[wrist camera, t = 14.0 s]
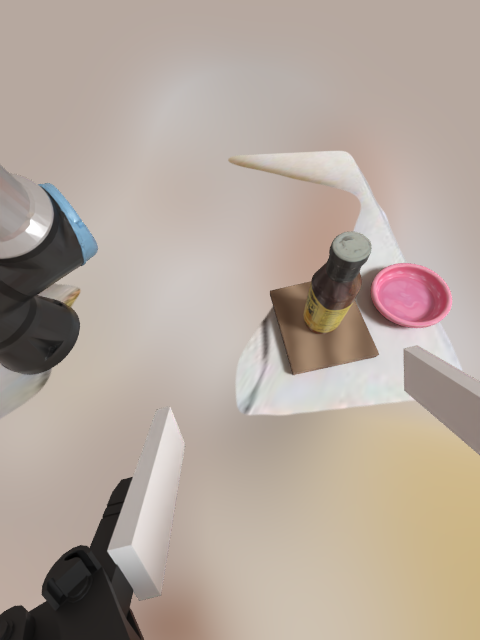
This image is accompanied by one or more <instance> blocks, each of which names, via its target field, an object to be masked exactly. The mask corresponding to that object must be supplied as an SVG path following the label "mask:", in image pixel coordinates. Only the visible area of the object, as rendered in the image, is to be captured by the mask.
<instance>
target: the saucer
mask: <svg viewBox="0 0 480 640" xmlns="http://www.w3.org/2000/svg"><path fill="white" fill-rule="evenodd" d="M371 298H372V301H373V303H374V305H375V307H376V308H377V310H378V311H379V312H380V313H381V314H382V315H383V316H384V317H385V318H387V319H388V320H390V321H392V322H394V323H396V324H398V325H401V326H405V327H411V328H423V327H428V326H431V325H434V324H436V323H438V322H439V321H441V320H442V319H443V318H445V317H446V315H447V314H448V313H449V311H450V309H451V305H452V296H451V292H450V289H449V287H448V285H447V284H446V283H445V281H444V280H443V279H442V278H441V277H440V276H438V274H436V273H435V272H433V271H432V270H430V269H428V268H426V267H423V266H420V265H416V264H410V263H399V264H394V265H390V266H388V267H386V268H384V269H382V270H381V271H380V272H379V273H378V274H377V275H376V276H375V278H374V280H373V282H372V285H371Z"/></svg>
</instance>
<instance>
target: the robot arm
mask: <svg viewBox="0 0 480 640" xmlns="http://www.w3.org/2000/svg"><path fill="white" fill-rule="evenodd" d="M97 250H98V246H97V243H96V241H95V239H94V237H93V236H92V234H91V233H90V231H89V230H88V228H87V227H86V225H85V224H84V223H83V222H82V220H81V219H80V217H79V216H78V215H77V213H76V211H75V210H74V209H73V208H72V206H71V205H70V204H69V202H68V201H67V200H66V199H65V197H64V196H63V195H62V194H61V193H60V192H59V190H58V189H57V188H55V186H54V185H52V184H50V183H45V184H36V183H35V182H33V181H32V180H30V179H28V178H26V177H24V176H21V175H17V174H11V173H9V172H7V171H6V170H5V169H4V168H3V167H2V166H1V165H0V363H1V364H2V365H3V366H4V367H5V368H7V369H9V370H12V371H15V372H18V373H22V374H38V373H41V372H44V371H47V370H49V369H51V368H52V367H54V366H55V365H57V364H58V363H60V362H61V361H62V360H63V359H64V358H65V357H66V356H67V355H68V353H69V352H70V351H71V350H72V348H73V346H74V345H75V343H76V340H77V338H78V335H79V329H80V322H79V318H78V315H77V314H76V312H75V311H74V310H73V309H72V308H71V307H69V306H67V305H66V304H64V303H63V302H61V301H58V300H54V299H50V298H46V297H42V296H38V295H37V294H39V293H40V292H42V291H43V290H45V289H46V288H48V287H49V286H51V285H52V284H54V283H55V282H57V281H58V280H60V279H61V278H63V277H64V276H66V275H67V274H69V273H70V272H72V271H73V270H75V269H76V268H78V267H79V266H82V265H84V264H85V263H86V261H88V260H89V259H90V258H91V257H93V256H94V255H95V254H96V253H97ZM404 391H406V392H407V393H408V394H409V395H410V396H411V397H413V398H414V399H415V400H416V401H417V402H418V403H420V404H421V405H422V406H423V407H424V408H425V409H427V410H428V411H429V412H430V413H431V414H432V415H433V416H435V417H436V418H437V419H438V420H439V421H440V422H442V423H443V424H444V425H445V426H446V427H448V428H449V429H450V430H451V431H452V432H453V433H455V434H456V435H457V436H458V437H459V438H461V439H462V440H463V441H464V442H465V443H466V444H467V445H468V446H470V447H471V448H472V449H473V450H474V451H476V452H477V453H478V454H479V455H480V381H478V380H476V379H475V378H473V377H471V376H469V375H468V374H466V373H464V372H463V371H461V370H459V369H457V368H456V367H454V366H452V365H450V364H449V363H447V362H445V361H443V360H442V359H440V358H438V357H436V356H435V355H433V354H431V353H429V352H428V351H426V350H424V349H423V348H421V347H419V346H413V347H409V348H405V349H404ZM184 448H185V443H184V440H183V438H182V435H181V433H180V430H179V428H178V425H177V423H176V420H175V418H174V415H173V412H172V410H171V407H170V406H169V407H165V408H161V409H157V410H156V413H155V415H154V418H153V421H152V424H151V427H150V430H149V433H148V435H147V438H146V441H145V444H144V447H143V450H142V453H141V456H140V458H139V461H138V464H137V467H136V470H135V473H134V475H133V477H131V478H127V479H123V480H121V481H120V483H119V484H118V485H117V487H116V488H115V489H114V491H113V492H112V495H111V497H110V500H109V502H108V504H107V508H106V509H105V511H104V514H103V519H101V521H100V524H99V526H98V529H97V531H96V534H95V536H94V538H93V541H92V543H91V546H90V548H89V547H87V546H82V545H80V546H77V547H75V548H72V549H71V550H69V551H68V552H66V553H65V554H63V555H62V556H61V557H60V559H59V560H58V561H57V562H56V563H55V564H54V565H53V567H52V568H51V569H50V571H49V573H48V574H47V576H46V578H45V580H44V583H43V586H42V596H43V597H44V598H45V599H46V600H47V601H46V602H44V603H43V604H41V605H39V606H38V607H36V608H34V609H33V610H31V611H29V612H28V611H27V610H26V609H25V608H24V607H23V606H14V607H12V608H10V609H8V610H6V611H4V612H3V613H2V614H1V615H0V640H144V638H143V636H142V634H141V631H140V629H139V627H138V624H137V622H136V619H135V617H134V615H133V612H132V610H131V609H130V603H131V599H132V595H133V592H134V594H135V595H136V597H137V598H138V600H139V601H141V600H145V599H149V598H154V597H158V596H161V593H162V587H163V580H164V574H165V567H166V561H167V555H168V548H169V542H170V536H171V530H172V523H173V517H174V511H175V505H176V499H177V492H178V486H179V479H180V473H181V467H182V461H183V455H184Z"/></svg>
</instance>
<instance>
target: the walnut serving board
mask: <svg viewBox="0 0 480 640" xmlns="http://www.w3.org/2000/svg"><path fill="white" fill-rule="evenodd" d="M310 285H311V282H307V283H303V284H298V285H293V286H290V287H285V288H280V289H276V290H272V291H270V296H271V300H272V303H273V307H274V310H275V314H276V317H277V321H278V324H279V328H280V331H281V335H282V338H283V342H284V345H285V349H286V352H287V356H288V359H289V363H290V366H291V370H292V373H293V375H296V374H300V373H305V372H309V371H314V370H318V369H323V368H328V367H332V366H337V365H341V364H346V363H350V362H355V361H359V360H364V359H368V358H373V357H376V356H377V355H379V353H378V350H377V348H376V346H375V344H374V342H373V339H372V337H371V335H370V333H369V331H368V328H367V326H366V324H365V322H364V320H363V317H362V315H361V313H360V311H359V308H358V306H357V304H356V302H355V300H354V302H353V303H352V305H351V307H350V308H349V310H348V311H347V313H346V315H345V316H344V318H343V319H342V321H341V322H340V324H339V326H338V327H337V328H336V329H335V330H334V331H332V332H330V333H326V334H317V333H315V332H313V331H311V330H310V329H309V328H308V327H307V326H306V324H305V321H304V316H303V314H304V309H305V304H306V300H307V296H308V292H309V289H310Z"/></svg>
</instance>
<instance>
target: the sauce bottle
mask: <svg viewBox="0 0 480 640" xmlns="http://www.w3.org/2000/svg"><path fill="white" fill-rule="evenodd" d="M329 253H330V255H329V259H328V261H327V263H326V264H324V265H323V266H322V267H321V268H320V269H319V270H318V271H317V272H316V273H315V274H314V275H313V277H312V281H311V285H310V289H309V292H308V296H307V300H306V304H305V309H304V314H303V316H304V321H305V324H306V326H307V327H308V328H309V329H310V330H311V331H313V332H315V333H317V334H326V333H330V332H332V331H334V330H335V329H336V328H337V327H338V326H339V324H340V322H341V321H342V319H343V318H344V316H345V315H346V313H347V311H348V310H349V308H350V307H351V305H352V303H353V302H354V300H355V298H356V295H357V294H358V292H359V290H360V288H361V283H362V279H361V275H360V268H361V266H362V265H363V264H364V263H365V262H366V261H367V260H368V257H369V255H370V253H371V243H370V241H369V239H368V238H366V237H365V236H364V235H363V234H360V233H357V232H344V233H342V234H340V235H338V236H337V237H336V238H335V239H334V240H333V242H332V245H331V247H330V252H329Z"/></svg>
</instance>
